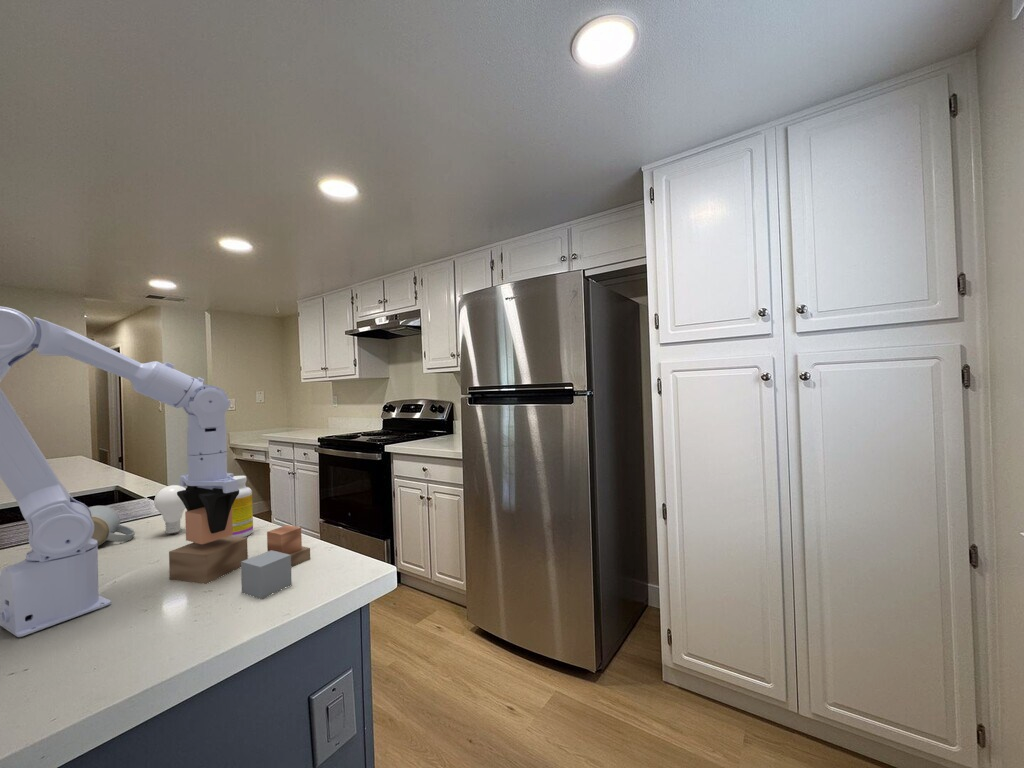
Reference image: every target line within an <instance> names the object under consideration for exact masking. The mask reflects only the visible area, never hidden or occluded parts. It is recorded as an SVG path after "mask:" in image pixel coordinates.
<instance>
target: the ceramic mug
mask: <svg viewBox="0 0 1024 768" xmlns="http://www.w3.org/2000/svg"><path fill="white" fill-rule="evenodd" d="M88 508H89V509H90V511H91V514H92V520H93V523H94V533H93V536H92V537H91V538H92V539H95V540H97V541H98V544H97V545H98V547H99V546H101V545H102V544H103V543H105V542H106V541H110V542H116V543H117V542H118V543H122V542H123V543H124V542H125V541H126V542H129V541H131V540H133V538H134V536H135V534H136V530H134V529H133V528H131V527H129V526H127V525H122V524H121V516H120V514H119V513H118V512H117V510H115V509H113V508H112V507H111V506H106V505H93V506H88ZM117 533H119V534H117ZM128 540H129V541H128Z"/></svg>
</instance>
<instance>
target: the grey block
mask: <svg viewBox="0 0 1024 768" xmlns="http://www.w3.org/2000/svg"><path fill="white" fill-rule="evenodd" d="M262 553H263V554H262ZM262 553H260V554H257V555H255V556H253V557H250V558H249V557H248V559H247V560H244V561H241V568H240V569H241V570H240V571H241V573H240V578H241V594H244V593H245V594H244V595H247V594H248V595H247V596H250V595H251V596H250V597H253V596H254V597H253V598H256V597H257V598H256V599H259V598H260V599H259V600H264V599H265V598H268V597H269V595H270V596H272V595H273V594H272V593H274V594H276V593H278V592H280V591H282V590H284V589H283V588H285V587H287V588H289V587H290V585H291V586H292V584H293V583H292V567H291V555H289V554H285V553H281V552H277V551H273V550H271V551H268V550H267V551H265V552H262ZM288 586H289V587H288ZM281 589H282V590H281ZM285 589H286V588H285ZM279 590H280V591H279ZM277 591H278V592H277ZM275 592H276V593H275ZM271 594H272V595H271ZM267 596H268V597H267Z"/></svg>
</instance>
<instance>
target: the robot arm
mask: <svg viewBox="0 0 1024 768" xmlns="http://www.w3.org/2000/svg"><path fill="white" fill-rule="evenodd" d="M33 320H34V321H33ZM33 320H32V319H31V318H30V317H29V316H28V315H27V314H25V313H23V312H22V311H20V310H17V309H14V308H10V307H7V306H0V383H1V382H2V380H3V379H4V378H5V377H6V375H7V374H8V372H10V370H11V368H13V365H14V364H15V363H17V362H19V361H20V360H22V359H24V358H25V357H26V356H28V355H29V354H30V353H32V352H33V351H35V349H36V352H37V354H38V356H42V357H46V356H47V357H67V358H68V357H69V358H70V359H71V358H72V359H73V360H76V361H79V362H82V363H84V364H87V365H90V366H92V367H95V368H98V369H100V370H102V371H105V372H108V373H110V374H113V375H115V376H118V377H120V378H123V379H126V380H128V381H129V382H130V384H131V386H132V389H133V391H134V392H135V393H137V394H140V395H142V396H145V397H147V398H150V399H152V400H155V401H158V402H160V403H163V404H166V405H167V406H170V407H173V408H175V409H180V408H182V409H183V411H184V412H185V413H186V414H187V427H186V453H187V454H186V457H187V458H186V460H187V461H186V463H187V474H182V475H180V476H179V485H180V486H182V487H184V488H186V490H182V491H178V492H177V495H178V497H179V498H180V499H181V501H182V502H183V504H184V505H185V507H186V508H185V509H186V511H190V510H195V509H199V508H203V507H205V510H206V513H207V518H208V525H209V529H210V532H211V533H217V532H220V531H223V530H225V528H226V525H227V521H228V517H229V513H230V510H231V507H232V505H233V503H234V501H235V499H236V497H237V496H238V494H239V489H238V480H237V479H233V477H234V476H235V474H234V473H232V472H228V448H227V443H228V442H227V437H228V436H227V425H226V412H227V411H228V410H229V408H230V406H231V400H229V397H228V394H227V393H226V391H225V390H223V389H222V388H221V387H219V386H217V385H207V384H204V382H205V379H204V378H201V377H200V376H198V377H196V378H195V377H193V376H191V375H189V374H187V373H184V372H182V371H180V370H178V369H175V364H174V363H171V362H169V361H166V362H164V363H162V362H159V361H158V360H157V361H156V360H154V361H150V362H145V363H142V362H139V361H138V360H136V359H134V358H130V357H129V356H127V355H124V354H123V353H120V352H118V351H116V350H114V349H112V348H110V347H108V346H106V345H103V344H101V343H99V342H97V341H95V340H93V339H90V338H88V337H86V336H84V335H82V334H80V333H78V332H76V331H74V330H71V329H69V328H67V327H64V326H61V325H59V324H55V323H54V322H50V321H48V320H47V319H46V320H45V319H41V318H38V317H36V316H33ZM34 322H35V323H34ZM0 478H1V481H3V483H4V485H5V486H6V488H7V489H8V490H9V492H10V493H11V495H12V496H13V498H14V500H15V501H16V503H17V505H18V507H19V509H20V512H21V514H22V517H23V518H24V520H25V522H26V523H27V525H28V528H29V535H28V544H29V547H30V548H31V550H29V551H28V552H26V555H25V559H23V560H21V561H19V562H17V563H14V564H11V565H7V566H5V567H3V568H2V569H1V571H0V626H1V628H3V629H5V630H6V631H8V632H9V633H11V634H13V635H14V636H15V637H17V638H21V637H24V636H27V635H30V634H33V633H35V632H38V631H41V630H44V629H47V628H49V627H53V626H55V625H57V624H60V623H63V622H65V621H68V620H69V621H70V620H71V619H74V618H76V617H80V616H82V615H85V614H88V613H91V612H93V611H97V610H98V609H101V608H102V609H103V607H108V606H110V605H111V604H112V600H111V599H109V598H107V597H104V596H101V595H100V594H99V593H100V591H99V589H100V588H99V556H98V555H99V552H98V547H99V546H98V545H97V544H98V541H97V540H95V539H92V538H91V537H92V536H93V533H94V523H93V520H92V514H91V511H90V509H89V506H88V505H86V504H85V503H83V502H81V501H78V500H76V499H75V498H74V497H72V495H71V494H70V492H69V491H68V489H67V488H66V487H65V485H64V484H63V483H62V482H61V481H60V478H59V477H58V476H57V474H56V472H55V471H54V470H53V468H52V466H51V465H50V463H49V462H48V460H47V458H46V456H45V455H44V454H43V452H42V451H41V449H40V447H39V446H38V445H37V443H36V441H35V439H34V438H33V437H32V435H31V433H30V432H29V430H28V429H27V427H26V426H25V424H24V422H23V421H22V419H21V417H20V416H19V414H18V413H17V411H16V410H15V408H14V406H13V405H12V403H11V402H10V400H9V399H8V397H7V395H6V394H5V392H4V391H3V390H2V388H1V387H0Z"/></svg>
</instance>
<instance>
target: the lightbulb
mask: <svg viewBox="0 0 1024 768" xmlns="http://www.w3.org/2000/svg"><path fill="white" fill-rule="evenodd" d="M186 488H187V487H185V486H184V487H182V486H180V484H171V485H168V486H164V487H163V488H161V489H160V490H159V491H158V492H157V493H156V494H155V497H154V500H153V505H154V507H155V509H156V510H157V511H158V512H159V513H160V514H161V516H162V519H163V521H164V525H165V526H164V527H165V531H164V532H165V533H166V534H168V535H175V534H177V533H179V532H180V531H181V519H182V517H183V513H184V510H185V509H186V507H185V505H184V504H183V502H182V501H181V499H180V498H179V497H178V495H177V492H178V491H182V490H186Z"/></svg>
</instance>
